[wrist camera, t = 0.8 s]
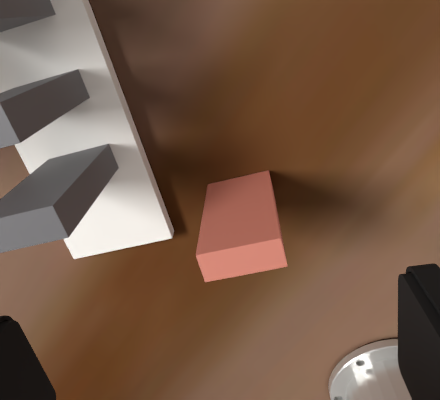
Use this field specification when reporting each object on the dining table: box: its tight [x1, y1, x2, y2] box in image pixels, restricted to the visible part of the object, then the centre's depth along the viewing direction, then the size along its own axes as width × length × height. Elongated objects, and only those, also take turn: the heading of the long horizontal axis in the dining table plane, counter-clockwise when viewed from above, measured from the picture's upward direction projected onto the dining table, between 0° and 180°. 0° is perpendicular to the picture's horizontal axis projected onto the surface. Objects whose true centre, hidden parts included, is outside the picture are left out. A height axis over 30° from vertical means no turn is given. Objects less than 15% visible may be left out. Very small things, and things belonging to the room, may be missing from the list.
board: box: [0, 0, 174, 259], centre depth 28 cm, size 27×9×1 cm, turn 15°
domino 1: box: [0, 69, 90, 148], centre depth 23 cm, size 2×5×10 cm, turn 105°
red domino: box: [196, 170, 287, 282], centre depth 27 cm, size 2×5×10 cm, turn 105°
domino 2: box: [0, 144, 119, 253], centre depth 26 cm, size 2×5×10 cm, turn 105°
